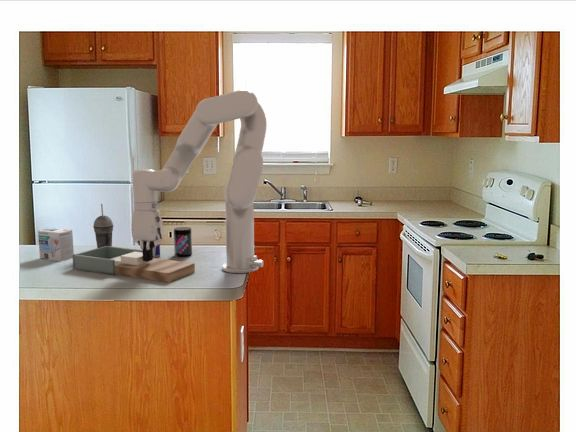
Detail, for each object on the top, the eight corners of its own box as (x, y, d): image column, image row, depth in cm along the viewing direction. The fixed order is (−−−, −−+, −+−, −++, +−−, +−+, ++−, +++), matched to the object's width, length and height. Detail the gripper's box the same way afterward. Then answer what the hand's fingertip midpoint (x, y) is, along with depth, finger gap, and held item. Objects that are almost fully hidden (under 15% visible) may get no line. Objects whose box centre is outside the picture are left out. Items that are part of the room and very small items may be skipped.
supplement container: (171, 255, 203) (170, 228, 201) (186, 252, 207) (185, 226, 205) (180, 258, 198) (179, 230, 196) (195, 255, 202) (194, 228, 200)
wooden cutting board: (194, 271, 179) (194, 263, 178) (168, 282, 166) (168, 273, 166) (143, 264, 188) (143, 256, 187) (115, 274, 175) (114, 265, 175)
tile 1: (135, 263, 185) (134, 256, 184) (121, 268, 178) (120, 261, 178) (119, 263, 188) (119, 256, 187) (105, 267, 181) (104, 260, 181)
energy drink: (151, 260, 195) (150, 228, 193) (142, 257, 198) (141, 226, 196) (163, 257, 199) (162, 225, 197) (154, 255, 202) (152, 224, 200)
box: (145, 264, 189) (144, 250, 188) (113, 275, 174) (112, 260, 174) (107, 258, 196) (106, 245, 196) (73, 269, 182) (72, 254, 181)
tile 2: (151, 260, 182) (150, 253, 181) (137, 265, 175) (137, 257, 175) (134, 258, 185) (134, 251, 184) (120, 263, 178) (120, 255, 178)
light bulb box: (39, 258, 197) (36, 230, 195) (53, 254, 203) (51, 227, 201) (61, 261, 193) (59, 232, 191) (74, 257, 199) (73, 229, 197)
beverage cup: (96, 259, 196) (93, 205, 193) (93, 255, 202) (90, 203, 199) (116, 257, 199) (113, 204, 196) (113, 253, 206) (110, 202, 202)
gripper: (171, 206, 175) (172, 260, 178) (135, 203, 181) (138, 255, 184) (156, 209, 168) (158, 265, 171) (120, 206, 174) (122, 260, 177)
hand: (147, 260), depth 178 cm, fingers closed
